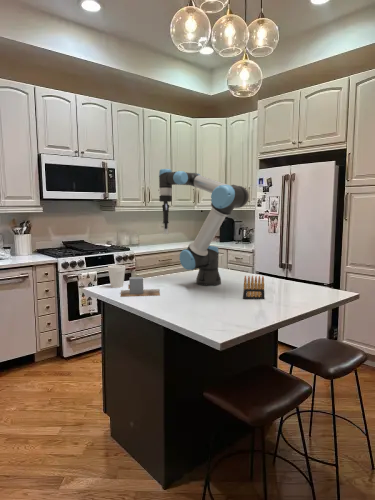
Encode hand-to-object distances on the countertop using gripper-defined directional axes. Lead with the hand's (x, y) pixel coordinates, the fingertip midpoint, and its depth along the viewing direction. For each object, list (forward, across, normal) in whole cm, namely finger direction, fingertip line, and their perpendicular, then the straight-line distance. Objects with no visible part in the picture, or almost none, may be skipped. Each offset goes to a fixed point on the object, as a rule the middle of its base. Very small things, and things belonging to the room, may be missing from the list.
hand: (165, 233), depth 219 cm
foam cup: (+30, +18, -29) cm, 45 cm away
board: (+29, +35, -16) cm, 48 cm away
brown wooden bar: (+28, +35, -16) cm, 48 cm away
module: (+28, +35, -18) cm, 48 cm away
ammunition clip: (+30, +48, +41) cm, 70 cm away
